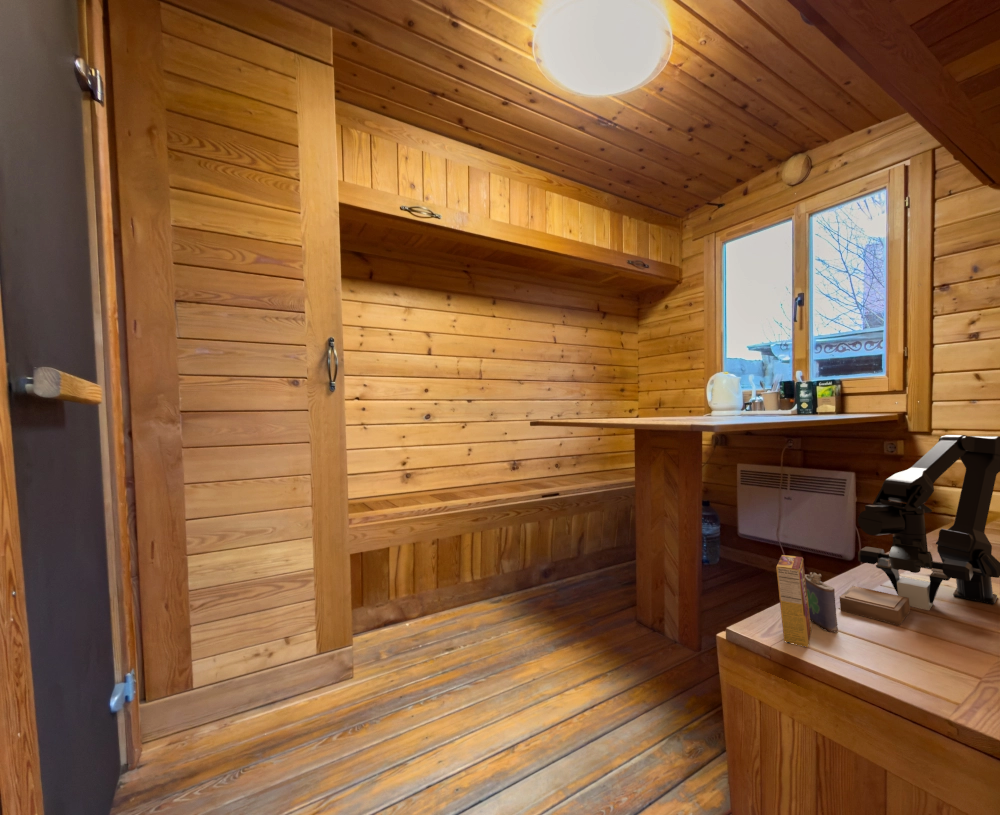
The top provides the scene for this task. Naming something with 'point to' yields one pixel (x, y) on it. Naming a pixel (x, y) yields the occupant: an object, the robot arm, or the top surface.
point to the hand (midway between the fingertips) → (915, 599)
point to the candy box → (793, 600)
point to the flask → (821, 603)
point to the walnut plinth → (875, 605)
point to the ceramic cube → (915, 592)
